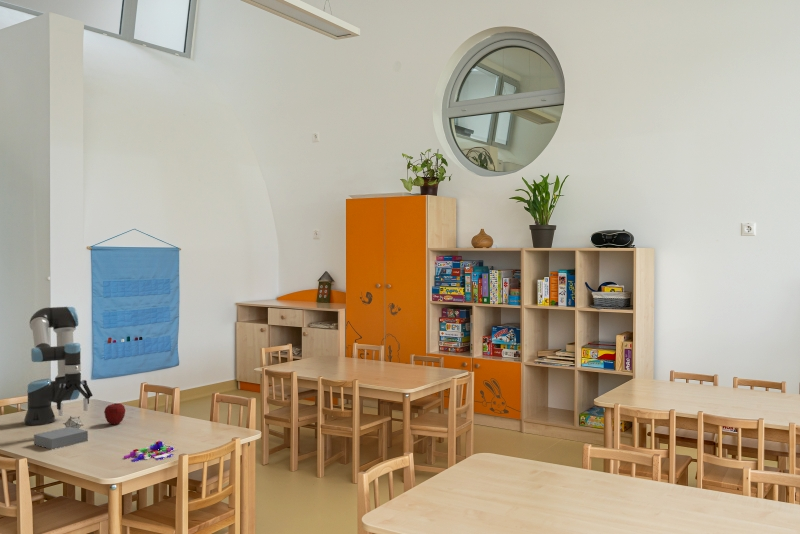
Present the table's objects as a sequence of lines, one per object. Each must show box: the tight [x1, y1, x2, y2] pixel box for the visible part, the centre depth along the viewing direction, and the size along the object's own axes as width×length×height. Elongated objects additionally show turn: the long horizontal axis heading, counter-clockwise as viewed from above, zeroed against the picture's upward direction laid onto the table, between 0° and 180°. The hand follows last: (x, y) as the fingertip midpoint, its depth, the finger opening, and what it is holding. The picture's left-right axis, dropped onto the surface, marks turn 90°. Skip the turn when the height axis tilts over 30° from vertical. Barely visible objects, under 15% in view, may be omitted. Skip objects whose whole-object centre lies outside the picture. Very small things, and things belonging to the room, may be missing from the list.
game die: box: [62, 415, 84, 429], centre depth 343 cm, size 9×8×10 cm
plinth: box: [33, 426, 89, 450], centre depth 322 cm, size 16×18×5 cm
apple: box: [104, 402, 126, 425], centre depth 360 cm, size 11×11×12 cm
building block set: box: [123, 440, 175, 463], centre depth 302 cm, size 25×20×4 cm
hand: (73, 413), depth 342 cm, fingers open, 13 cm apart
